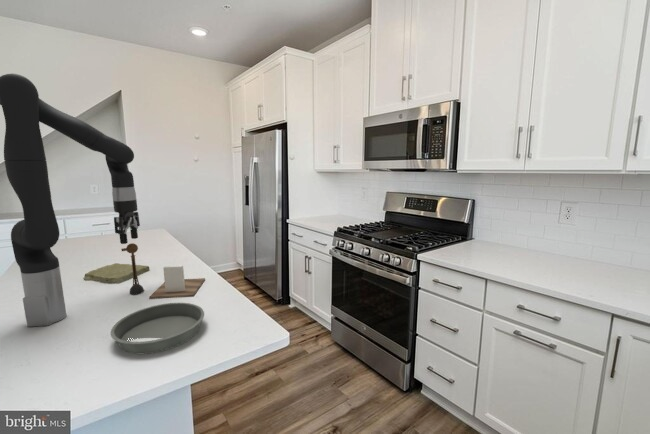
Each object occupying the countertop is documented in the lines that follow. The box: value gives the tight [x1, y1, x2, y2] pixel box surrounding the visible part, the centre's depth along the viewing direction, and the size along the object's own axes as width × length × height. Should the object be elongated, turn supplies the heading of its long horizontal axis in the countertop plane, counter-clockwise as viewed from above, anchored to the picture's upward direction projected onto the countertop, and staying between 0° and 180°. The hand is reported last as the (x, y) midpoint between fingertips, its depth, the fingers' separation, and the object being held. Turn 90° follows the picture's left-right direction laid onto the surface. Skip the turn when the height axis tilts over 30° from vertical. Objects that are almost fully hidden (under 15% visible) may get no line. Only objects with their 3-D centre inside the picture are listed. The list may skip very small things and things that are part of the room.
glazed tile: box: [163, 265, 185, 292], centre depth 124 cm, size 1×7×10 cm, turn 98°
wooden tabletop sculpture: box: [121, 243, 145, 296], centre depth 124 cm, size 6×5×20 cm
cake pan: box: [110, 302, 205, 354], centre depth 95 cm, size 25×25×4 cm
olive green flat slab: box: [83, 262, 151, 285], centre depth 146 cm, size 19×20×4 cm
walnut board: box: [148, 277, 206, 300], centre depth 129 cm, size 18×16×1 cm
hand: (129, 240), depth 122 cm, fingers open, 8 cm apart
